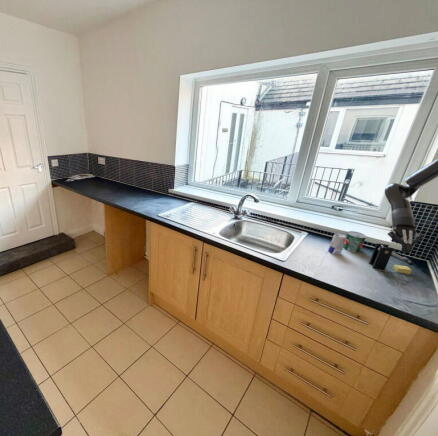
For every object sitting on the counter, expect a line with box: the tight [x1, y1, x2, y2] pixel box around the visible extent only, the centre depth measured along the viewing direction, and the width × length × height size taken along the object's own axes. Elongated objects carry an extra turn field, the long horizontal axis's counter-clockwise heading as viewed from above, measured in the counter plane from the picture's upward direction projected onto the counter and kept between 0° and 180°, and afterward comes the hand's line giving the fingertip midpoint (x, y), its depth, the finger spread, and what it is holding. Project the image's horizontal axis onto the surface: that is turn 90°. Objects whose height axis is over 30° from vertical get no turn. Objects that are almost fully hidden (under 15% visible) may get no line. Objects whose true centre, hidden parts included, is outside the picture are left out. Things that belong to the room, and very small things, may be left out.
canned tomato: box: [342, 230, 367, 253], centre depth 133 cm, size 8×8×11 cm
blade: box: [378, 245, 415, 266], centre depth 114 cm, size 13×5×2 cm, turn 69°
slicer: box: [368, 242, 394, 274], centre depth 116 cm, size 10×8×13 cm
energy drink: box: [327, 232, 347, 256], centre depth 129 cm, size 5×5×12 cm
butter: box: [392, 264, 413, 275], centre depth 115 cm, size 5×4×3 cm
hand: (407, 252), depth 114 cm, fingers closed
